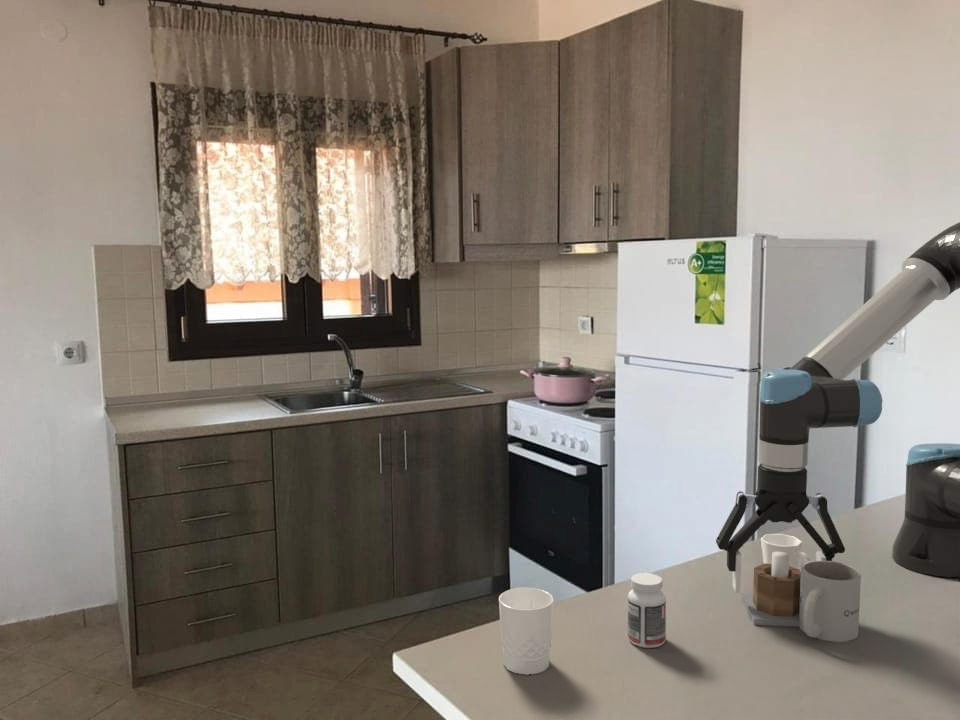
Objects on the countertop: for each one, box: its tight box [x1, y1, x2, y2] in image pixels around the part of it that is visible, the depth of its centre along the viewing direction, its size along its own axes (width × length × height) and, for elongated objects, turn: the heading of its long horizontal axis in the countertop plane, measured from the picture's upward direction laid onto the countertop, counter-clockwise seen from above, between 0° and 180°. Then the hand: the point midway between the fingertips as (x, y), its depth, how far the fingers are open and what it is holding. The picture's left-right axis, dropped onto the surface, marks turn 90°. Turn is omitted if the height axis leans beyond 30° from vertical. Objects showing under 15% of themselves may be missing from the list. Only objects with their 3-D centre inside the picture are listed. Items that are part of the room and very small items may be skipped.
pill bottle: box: [627, 572, 667, 649], centre depth 123 cm, size 6×6×10 cm
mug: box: [799, 559, 862, 643], centre depth 125 cm, size 12×9×10 cm
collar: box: [752, 563, 801, 617], centre depth 133 cm, size 7×7×6 cm
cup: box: [760, 533, 811, 569], centre depth 143 cm, size 7×10×8 cm
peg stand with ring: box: [741, 552, 800, 628], centre depth 132 cm, size 10×10×10 cm
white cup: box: [498, 587, 554, 676], centre depth 117 cm, size 8×8×10 cm
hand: (777, 590), depth 133 cm, fingers open, 13 cm apart
